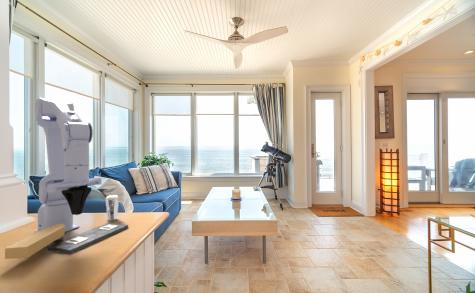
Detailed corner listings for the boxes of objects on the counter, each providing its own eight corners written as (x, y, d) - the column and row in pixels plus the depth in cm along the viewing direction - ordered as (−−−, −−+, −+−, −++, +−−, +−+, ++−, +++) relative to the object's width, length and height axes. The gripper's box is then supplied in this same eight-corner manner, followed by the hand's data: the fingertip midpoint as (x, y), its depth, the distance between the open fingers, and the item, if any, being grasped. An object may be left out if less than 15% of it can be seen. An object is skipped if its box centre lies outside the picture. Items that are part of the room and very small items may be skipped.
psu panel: (47, 250, 61) (47, 245, 61) (108, 225, 80) (108, 221, 80) (70, 253, 59) (70, 248, 59) (128, 227, 78) (128, 223, 78)
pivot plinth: (50, 242, 66) (50, 236, 66) (59, 239, 68) (59, 233, 68) (56, 243, 65) (56, 237, 65) (65, 240, 68) (65, 234, 68)
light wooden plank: (53, 232, 68) (53, 224, 68) (69, 231, 69) (69, 223, 69) (4, 259, 52) (4, 248, 52) (27, 257, 52) (27, 246, 52)
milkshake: (115, 221, 84) (115, 194, 84) (102, 221, 85) (102, 193, 86) (123, 218, 89) (123, 192, 89) (111, 217, 90) (111, 191, 90)
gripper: (61, 167, 57) (61, 223, 57) (109, 163, 71) (109, 208, 71) (40, 167, 59) (40, 220, 59) (91, 163, 73) (91, 206, 73)
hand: (76, 214), depth 65 cm, fingers closed
